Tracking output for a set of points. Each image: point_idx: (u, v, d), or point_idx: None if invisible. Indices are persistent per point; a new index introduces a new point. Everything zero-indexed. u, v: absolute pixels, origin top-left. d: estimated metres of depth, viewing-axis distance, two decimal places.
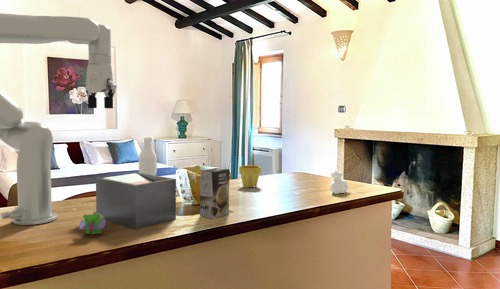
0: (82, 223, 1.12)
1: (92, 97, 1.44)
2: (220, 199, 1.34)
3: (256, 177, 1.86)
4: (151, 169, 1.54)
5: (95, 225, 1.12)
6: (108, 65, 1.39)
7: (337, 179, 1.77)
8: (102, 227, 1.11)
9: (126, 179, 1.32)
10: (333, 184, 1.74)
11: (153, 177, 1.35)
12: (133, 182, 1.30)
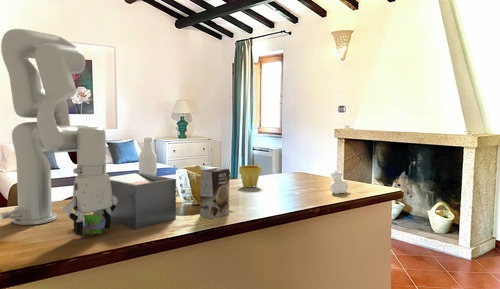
0: None
1: None
2: (220, 199, 1.34)
3: (256, 177, 1.86)
4: (151, 169, 1.54)
5: (95, 225, 1.12)
6: None
7: (337, 179, 1.77)
8: (102, 227, 1.11)
9: (126, 179, 1.32)
10: (333, 184, 1.74)
11: (153, 177, 1.35)
12: (133, 182, 1.30)
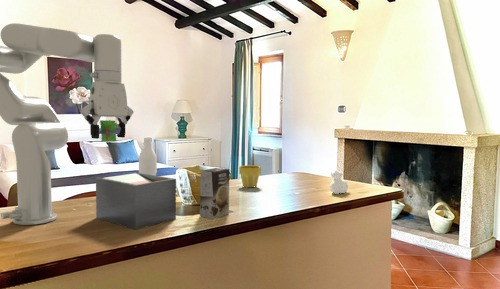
0: None
1: None
2: (220, 199, 1.34)
3: (256, 177, 1.86)
4: (151, 169, 1.54)
5: (110, 131, 1.16)
6: None
7: (337, 179, 1.77)
8: (117, 133, 1.15)
9: (126, 179, 1.32)
10: (333, 184, 1.74)
11: (153, 177, 1.35)
12: (133, 182, 1.30)
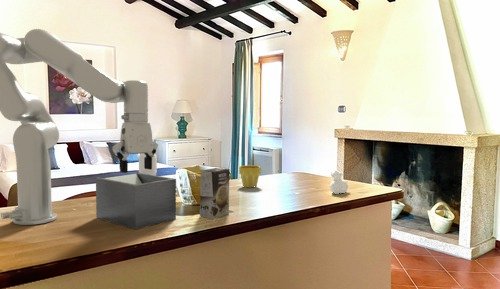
0: None
1: None
2: (220, 199, 1.34)
3: (256, 177, 1.86)
4: (151, 169, 1.54)
5: None
6: None
7: (337, 179, 1.77)
8: None
9: None
10: (333, 184, 1.74)
11: (153, 177, 1.35)
12: None
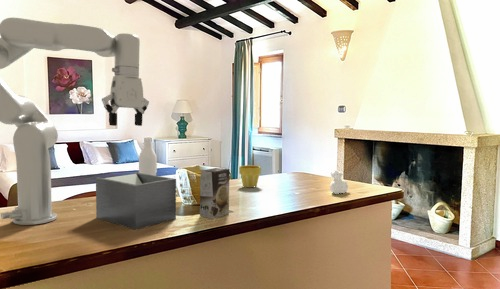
0: None
1: None
2: (220, 199, 1.34)
3: (256, 177, 1.86)
4: (151, 169, 1.54)
5: None
6: None
7: (337, 179, 1.77)
8: None
9: None
10: (333, 184, 1.74)
11: (153, 177, 1.35)
12: None
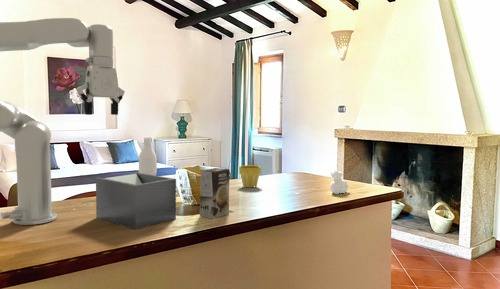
0: None
1: None
2: (220, 199, 1.34)
3: (256, 177, 1.86)
4: (151, 169, 1.54)
5: None
6: None
7: (337, 179, 1.77)
8: None
9: None
10: (333, 184, 1.74)
11: (153, 177, 1.35)
12: None
